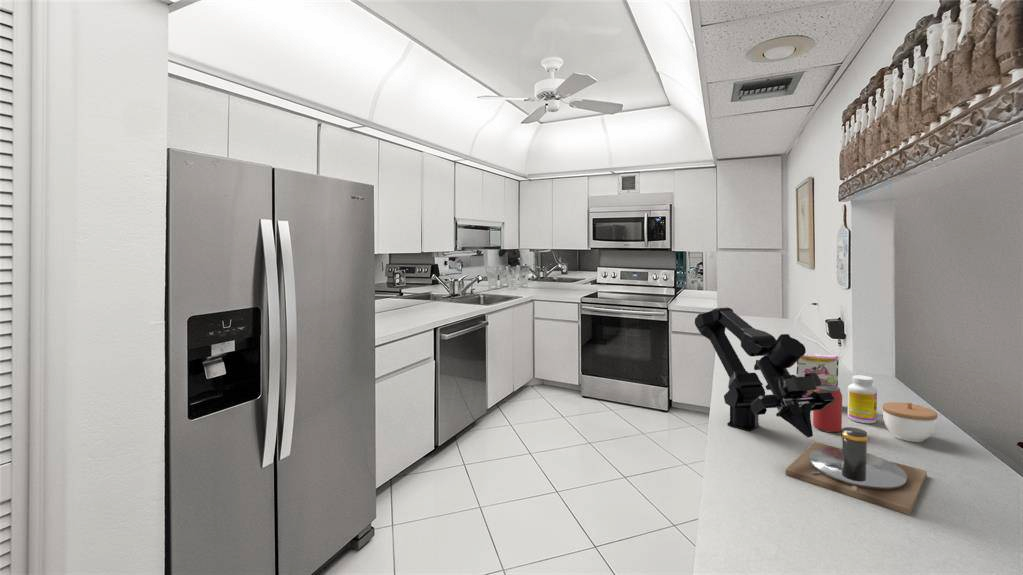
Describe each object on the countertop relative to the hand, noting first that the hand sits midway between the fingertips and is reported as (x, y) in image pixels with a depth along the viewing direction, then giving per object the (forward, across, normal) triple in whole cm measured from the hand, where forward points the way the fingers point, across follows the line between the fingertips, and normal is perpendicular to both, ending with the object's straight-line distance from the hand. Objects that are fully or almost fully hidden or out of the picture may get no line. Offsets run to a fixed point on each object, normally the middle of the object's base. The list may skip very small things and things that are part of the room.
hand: (810, 436), depth 100 cm
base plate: (+9, +6, +1) cm, 11 cm away
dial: (+8, +6, 0) cm, 10 cm away
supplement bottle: (-10, +36, +21) cm, 43 cm away
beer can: (-8, +21, +19) cm, 29 cm away
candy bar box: (-20, +33, +31) cm, 50 cm away
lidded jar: (-2, +37, +12) cm, 39 cm away
